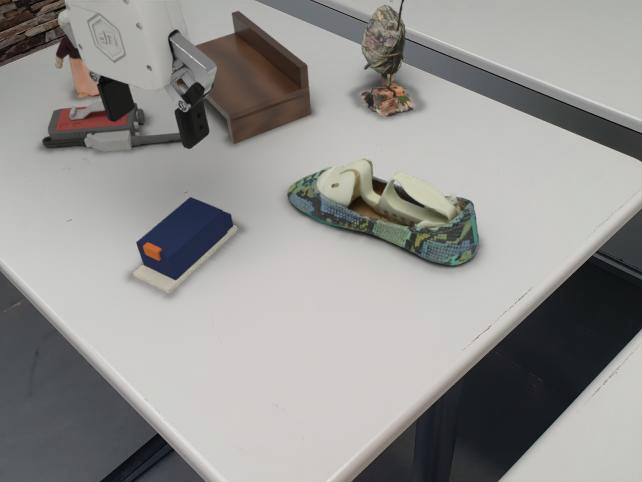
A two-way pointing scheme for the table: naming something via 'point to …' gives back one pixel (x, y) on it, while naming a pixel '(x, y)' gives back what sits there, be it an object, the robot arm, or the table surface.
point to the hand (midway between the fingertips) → (158, 127)
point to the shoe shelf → (255, 81)
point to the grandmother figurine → (74, 62)
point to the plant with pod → (385, 60)
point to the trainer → (182, 243)
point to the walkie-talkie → (99, 129)
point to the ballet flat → (391, 210)
